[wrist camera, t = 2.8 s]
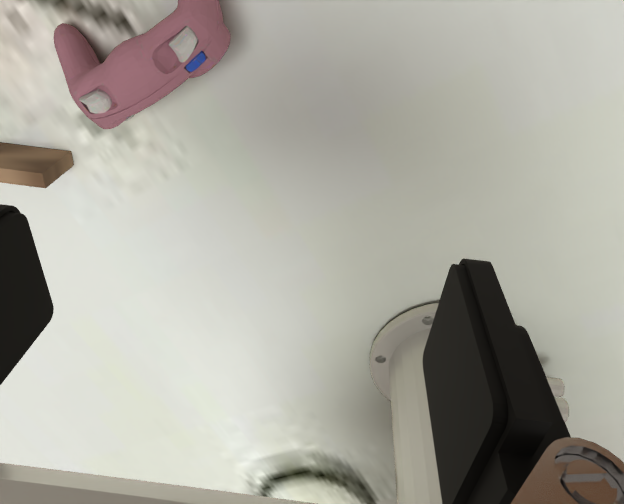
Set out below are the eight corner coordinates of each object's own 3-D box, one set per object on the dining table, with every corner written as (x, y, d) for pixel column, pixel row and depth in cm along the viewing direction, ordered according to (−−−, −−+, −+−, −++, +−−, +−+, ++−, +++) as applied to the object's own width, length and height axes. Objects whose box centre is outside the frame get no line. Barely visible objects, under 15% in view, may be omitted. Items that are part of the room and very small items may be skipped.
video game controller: (113, 79, 31) (104, 159, 27) (49, 23, 27) (28, 106, 23) (239, -4, 27) (247, 73, 24) (184, -81, 24) (185, -4, 20)
